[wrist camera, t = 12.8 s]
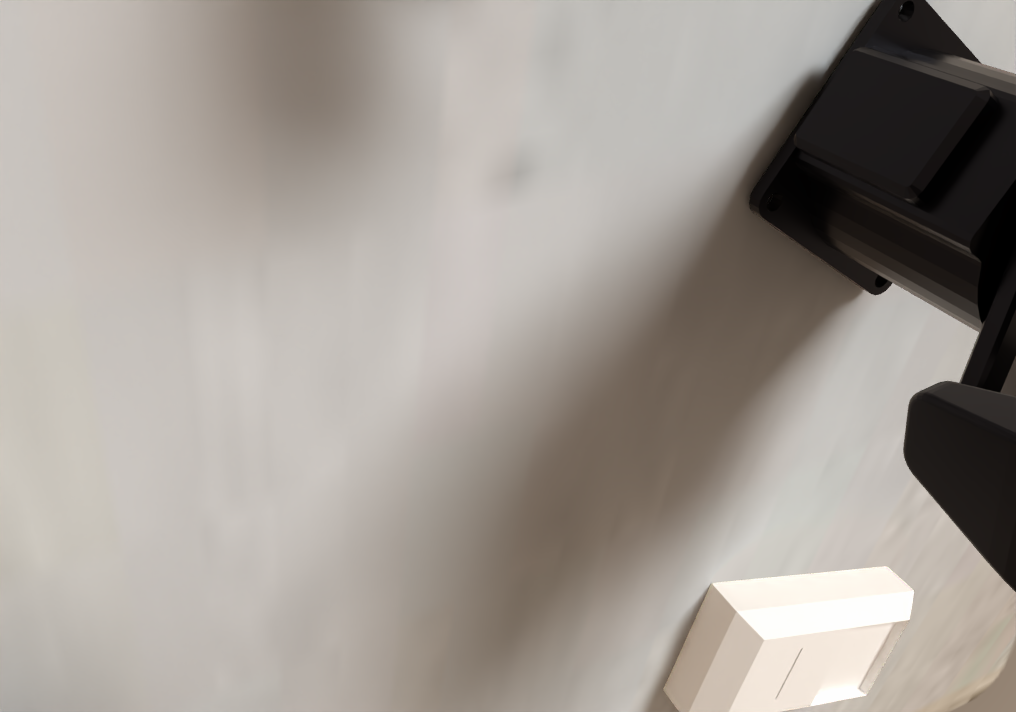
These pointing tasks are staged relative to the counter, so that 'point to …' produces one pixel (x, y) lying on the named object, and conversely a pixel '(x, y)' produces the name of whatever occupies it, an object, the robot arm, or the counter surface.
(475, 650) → the counter surface
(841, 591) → the soap bar
